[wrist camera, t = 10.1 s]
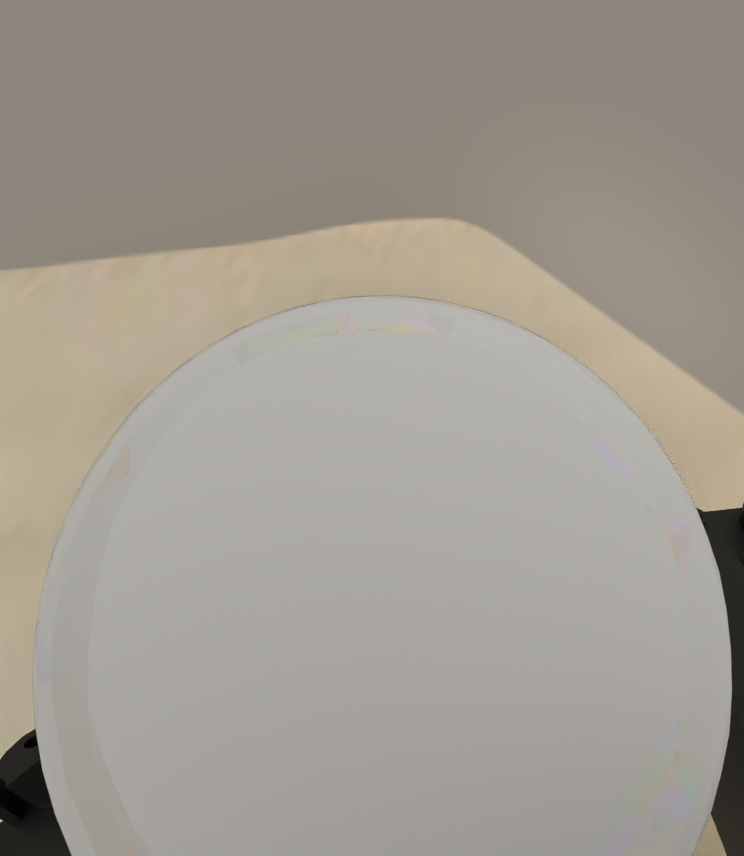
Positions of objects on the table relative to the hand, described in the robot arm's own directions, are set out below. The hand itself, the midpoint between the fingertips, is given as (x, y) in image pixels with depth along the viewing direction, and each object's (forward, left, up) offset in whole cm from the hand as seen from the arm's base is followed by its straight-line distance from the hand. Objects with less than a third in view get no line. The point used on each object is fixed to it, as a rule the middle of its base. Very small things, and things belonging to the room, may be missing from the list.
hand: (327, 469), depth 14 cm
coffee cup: (+2, -3, -4) cm, 5 cm away
